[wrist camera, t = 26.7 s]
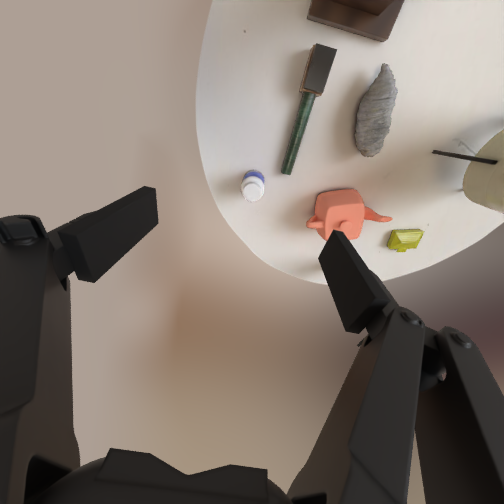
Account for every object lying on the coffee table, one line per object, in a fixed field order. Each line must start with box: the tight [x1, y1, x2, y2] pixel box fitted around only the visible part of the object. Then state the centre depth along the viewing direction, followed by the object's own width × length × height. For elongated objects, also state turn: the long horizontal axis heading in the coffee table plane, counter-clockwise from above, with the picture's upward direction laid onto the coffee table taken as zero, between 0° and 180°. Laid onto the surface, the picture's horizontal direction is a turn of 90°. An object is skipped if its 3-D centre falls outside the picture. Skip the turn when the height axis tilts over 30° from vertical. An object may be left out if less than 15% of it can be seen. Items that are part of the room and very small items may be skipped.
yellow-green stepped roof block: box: [379, 224, 429, 252], centre depth 53 cm, size 10×9×3 cm
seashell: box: [354, 63, 398, 157], centre depth 36 cm, size 6×14×8 cm, turn 8°
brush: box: [281, 44, 337, 175], centre depth 38 cm, size 21×4×4 cm, turn 168°
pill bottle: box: [241, 170, 265, 202], centre depth 44 cm, size 5×5×10 cm
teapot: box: [306, 189, 392, 241], centre depth 46 cm, size 12×18×10 cm, turn 100°
